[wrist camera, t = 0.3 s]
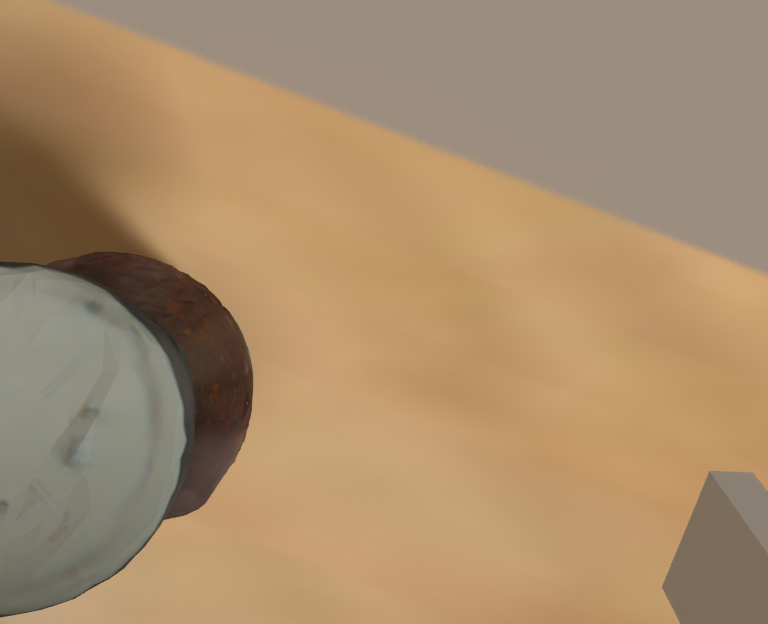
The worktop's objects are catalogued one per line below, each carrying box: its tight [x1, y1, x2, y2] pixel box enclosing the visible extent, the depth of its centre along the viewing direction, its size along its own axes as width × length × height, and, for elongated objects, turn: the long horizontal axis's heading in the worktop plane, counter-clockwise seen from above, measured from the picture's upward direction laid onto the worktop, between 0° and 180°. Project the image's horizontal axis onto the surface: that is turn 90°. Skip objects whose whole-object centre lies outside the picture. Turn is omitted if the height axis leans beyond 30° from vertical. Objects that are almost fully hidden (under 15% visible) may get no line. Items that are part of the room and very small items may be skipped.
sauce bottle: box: [0, 252, 253, 617], centre depth 17 cm, size 7×6×20 cm
